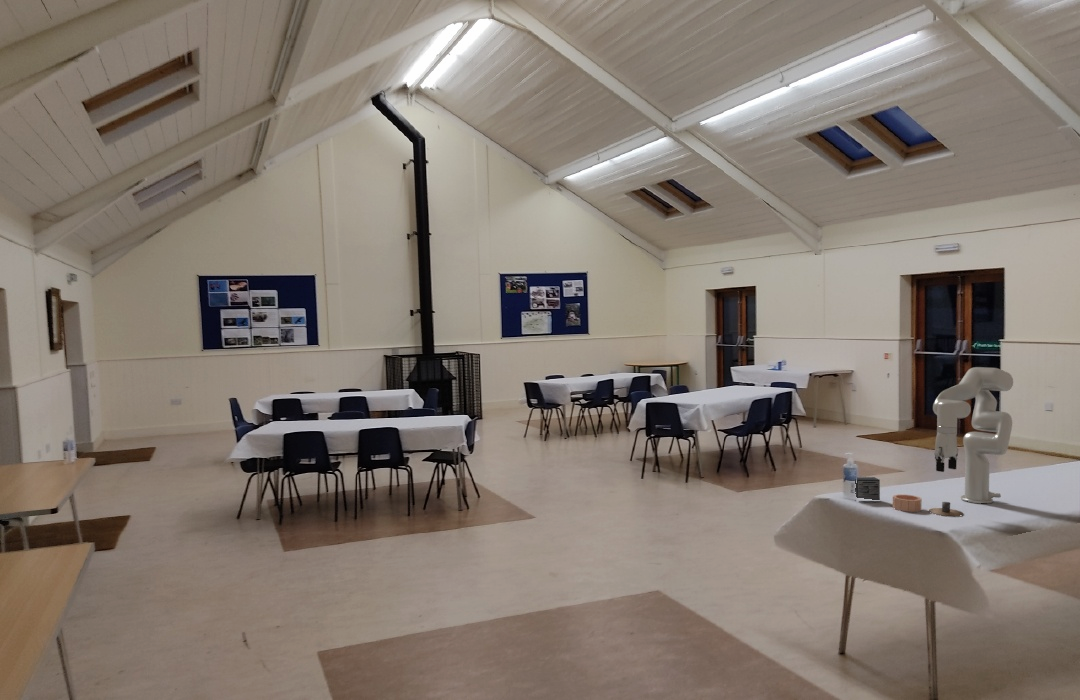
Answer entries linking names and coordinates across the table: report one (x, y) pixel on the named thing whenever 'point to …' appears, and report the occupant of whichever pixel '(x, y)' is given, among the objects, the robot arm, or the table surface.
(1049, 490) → the table surface
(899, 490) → the table surface
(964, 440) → the robot arm
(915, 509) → the bowl
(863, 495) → the small box
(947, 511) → the lid
